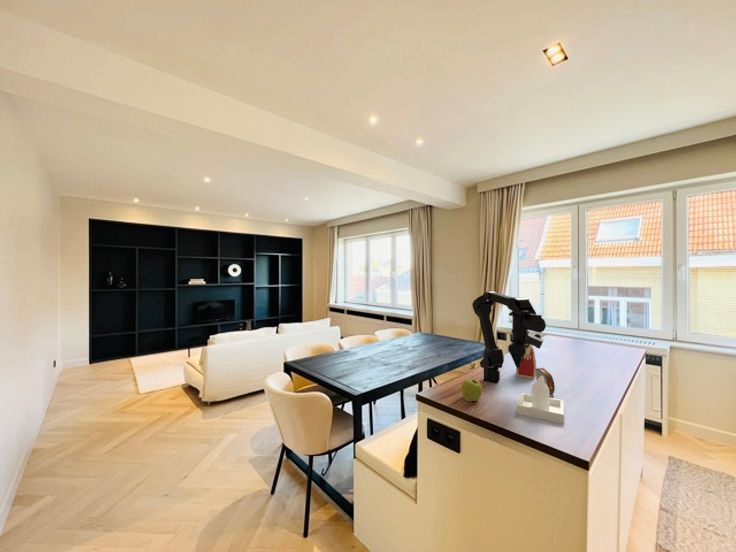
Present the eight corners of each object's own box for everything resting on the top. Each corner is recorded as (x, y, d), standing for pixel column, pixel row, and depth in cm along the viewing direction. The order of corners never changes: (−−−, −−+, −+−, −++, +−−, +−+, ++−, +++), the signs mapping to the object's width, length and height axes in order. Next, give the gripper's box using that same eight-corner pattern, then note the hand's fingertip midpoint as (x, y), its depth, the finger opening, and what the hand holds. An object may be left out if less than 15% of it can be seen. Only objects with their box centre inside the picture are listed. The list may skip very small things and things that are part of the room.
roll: (533, 371, 115) (550, 374, 111) (534, 403, 115) (551, 407, 111) (529, 375, 110) (547, 379, 107) (530, 408, 110) (547, 412, 107)
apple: (454, 396, 123) (460, 371, 124) (469, 398, 126) (474, 375, 127) (468, 403, 115) (474, 377, 117) (483, 406, 118) (489, 380, 120)
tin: (555, 396, 124) (555, 376, 124) (547, 396, 124) (546, 375, 124) (542, 383, 138) (541, 365, 139) (534, 383, 139) (534, 365, 139)
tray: (517, 413, 108) (517, 405, 108) (521, 400, 120) (521, 392, 120) (563, 423, 101) (563, 414, 101) (563, 408, 113) (563, 400, 113)
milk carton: (536, 373, 153) (536, 334, 153) (535, 378, 145) (534, 337, 145) (516, 370, 158) (516, 332, 158) (514, 375, 150) (514, 335, 150)
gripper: (540, 334, 114) (539, 374, 114) (543, 326, 129) (543, 362, 130) (508, 330, 120) (507, 369, 120) (515, 323, 135) (514, 357, 136)
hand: (519, 364), depth 126 cm, fingers open, 9 cm apart
